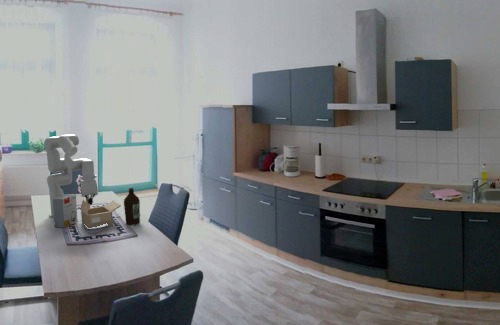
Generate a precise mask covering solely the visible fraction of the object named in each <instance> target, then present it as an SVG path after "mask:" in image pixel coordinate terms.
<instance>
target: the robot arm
mask: <svg viewBox="0 0 500 325" xmlns="http://www.w3.org/2000/svg"><path fill="white" fill-rule="evenodd" d="M79 144H80V138H79V137H78V136H77V135H76V134H74V133H73V134H62V135H60V136H50V137H47V138H45V139H44V141H43V146H44V150H45V152H46V159H47V169H48V171H49V172H51V173H52V174H50V175H48V176H47V178H46V183H47V186H48V191H49V202H50V213H49V214H48V216H49V218H50V217H51V218H54V210H53V199H54V198H57V197H60V196H63V195H65V194H64V190H63V189H62V188H61V186H66V185H67V186H68V185H71V184H72V182H73V172H77V171H81V172H82V173H81V174H82V180H81V181H80V194H81V197H82V198H85V199H87V202H88V203H89V204H90V206H91V205H93V203H94V198H95V196H98V195H99V191H98V183H97V180H96V178H97V175H96V174H95V166H94V165H95V164H94V160H93V159H88V158H87V157H86V158H85V157H84V158H76V159H73V158H72V157H73V156H75V155H76V154H77V153H78V147H77V146H79ZM58 149H62V152H64V156H63V158H61V153H60V151H59V150H58ZM58 172H59V173H58Z"/></svg>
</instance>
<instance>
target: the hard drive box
mask: <svg viewBox="0 0 500 325" xmlns="http://www.w3.org/2000/svg"><path fill="white" fill-rule="evenodd" d="M53 210H54V217H53V222H54V225H53V226H54V228H66V227H69V226H71V225H73V224H76V223H77V222H78V208H77V195H76V194H73V193H72V194H69V193H67V194H64V195H63V196H60V197H57V198H54V199H53Z"/></svg>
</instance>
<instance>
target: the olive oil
mask: <svg viewBox="0 0 500 325" xmlns="http://www.w3.org/2000/svg"><path fill="white" fill-rule="evenodd" d="M134 192H135V191H134V187H129V188H128V194H127V195H126V196H125V198H124V200H123V208H124V217H125V224H126V225H128V226H136V225H138V224H140V223H141V212H140V211H141V209H140V208H141V207H140V206H141V204H140V203H141V202H140V198H139V197H138V195H136V194H135V193H134Z"/></svg>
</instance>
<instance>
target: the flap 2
mask: <svg viewBox="0 0 500 325" xmlns="http://www.w3.org/2000/svg"><path fill="white" fill-rule="evenodd" d="M104 206H105V207H106V208H108V209H109V210H111V211H112V213H113V212H114V211H116V210H117V209H119V208H120V207H122V205H121V204H120V203H118V202H116V201H114V200H112V201H110V202H109V203H107V204H106V205H104Z"/></svg>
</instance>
